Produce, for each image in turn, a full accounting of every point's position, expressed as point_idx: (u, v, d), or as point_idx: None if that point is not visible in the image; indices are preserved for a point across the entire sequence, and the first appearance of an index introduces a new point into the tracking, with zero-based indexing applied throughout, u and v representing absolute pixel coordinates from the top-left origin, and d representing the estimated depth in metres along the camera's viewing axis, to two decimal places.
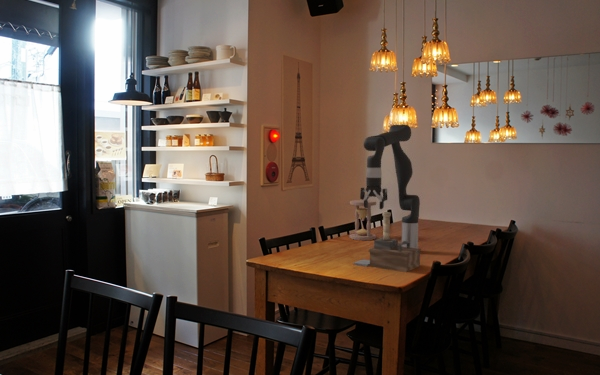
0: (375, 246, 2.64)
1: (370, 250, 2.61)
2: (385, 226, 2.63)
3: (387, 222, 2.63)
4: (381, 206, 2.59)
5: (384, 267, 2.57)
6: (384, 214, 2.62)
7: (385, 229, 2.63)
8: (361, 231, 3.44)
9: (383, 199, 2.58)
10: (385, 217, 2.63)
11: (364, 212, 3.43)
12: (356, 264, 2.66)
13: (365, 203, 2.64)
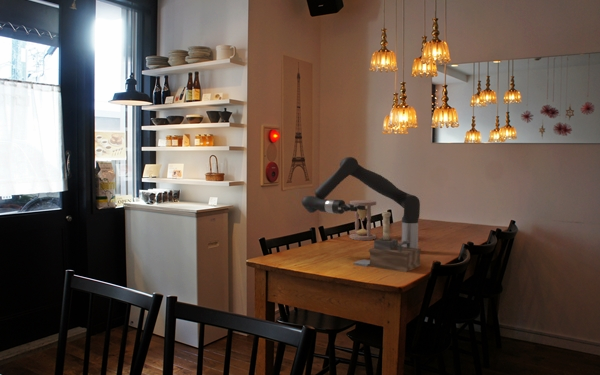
0: (375, 246, 2.64)
1: (370, 250, 2.61)
2: (385, 226, 2.63)
3: (387, 222, 2.62)
4: (354, 210, 2.69)
5: (384, 267, 2.57)
6: (384, 214, 2.62)
7: (385, 229, 2.63)
8: (361, 231, 3.44)
9: (346, 211, 2.71)
10: (385, 217, 2.62)
11: (364, 212, 3.43)
12: (356, 264, 2.66)
13: (360, 209, 2.77)
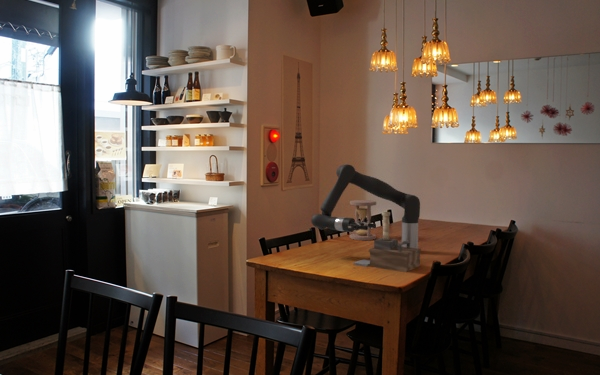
0: (375, 246, 2.64)
1: (370, 250, 2.61)
2: (384, 225, 2.64)
3: (387, 221, 2.64)
4: (364, 229, 2.67)
5: (384, 267, 2.57)
6: (383, 213, 2.64)
7: (385, 228, 2.64)
8: (361, 231, 3.44)
9: (357, 229, 2.68)
10: (384, 216, 2.64)
11: (364, 212, 3.43)
12: (356, 264, 2.66)
13: (371, 227, 2.74)
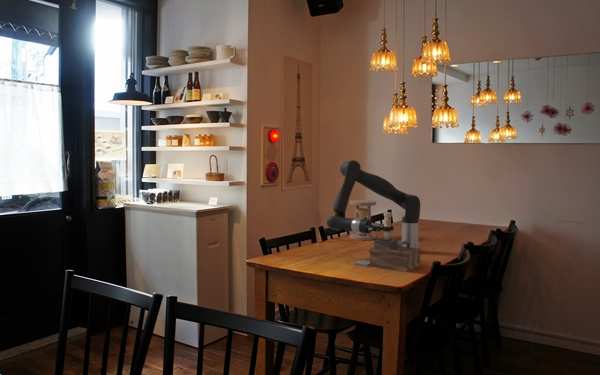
0: (375, 246, 2.64)
1: (370, 250, 2.61)
2: (386, 226, 2.63)
3: (388, 222, 2.62)
4: (386, 230, 2.62)
5: (384, 267, 2.57)
6: (385, 214, 2.62)
7: None
8: None
9: None
10: (386, 217, 2.62)
11: (364, 212, 3.43)
12: (356, 264, 2.66)
13: None
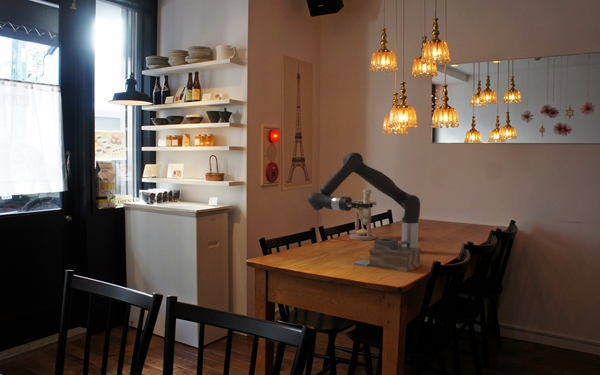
0: (375, 246, 2.64)
1: (370, 250, 2.61)
2: (365, 203, 2.65)
3: (367, 199, 2.64)
4: (365, 207, 2.64)
5: (384, 267, 2.57)
6: (364, 191, 2.64)
7: None
8: (361, 231, 3.44)
9: None
10: (365, 194, 2.64)
11: None
12: (356, 264, 2.66)
13: None
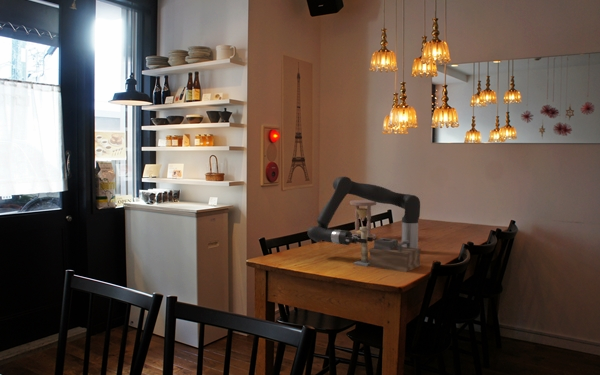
0: (375, 246, 2.64)
1: (370, 250, 2.61)
2: None
3: (364, 236, 2.66)
4: (363, 242, 2.64)
5: (384, 267, 2.57)
6: (361, 229, 2.66)
7: (363, 243, 2.67)
8: None
9: (355, 243, 2.65)
10: (362, 231, 2.67)
11: (364, 212, 3.43)
12: (356, 264, 2.66)
13: None
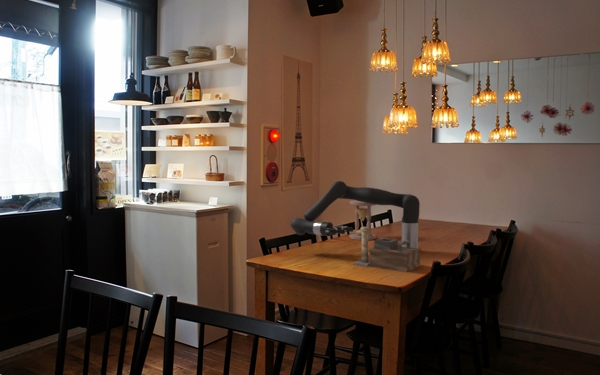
0: (375, 246, 2.64)
1: (370, 250, 2.61)
2: (363, 240, 2.66)
3: (365, 237, 2.66)
4: (341, 233, 2.72)
5: (384, 267, 2.57)
6: (362, 229, 2.66)
7: (363, 243, 2.67)
8: (361, 231, 3.44)
9: (334, 233, 2.73)
10: (363, 232, 2.66)
11: (364, 212, 3.43)
12: (356, 264, 2.66)
13: None
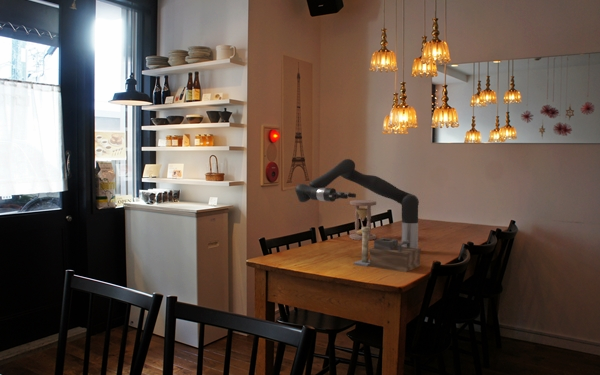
0: (375, 246, 2.64)
1: (370, 250, 2.61)
2: (364, 240, 2.66)
3: (366, 237, 2.66)
4: (344, 198, 2.77)
5: (384, 267, 2.57)
6: (363, 229, 2.65)
7: (364, 244, 2.66)
8: (361, 231, 3.44)
9: (337, 198, 2.78)
10: (364, 232, 2.65)
11: (364, 212, 3.43)
12: (356, 264, 2.66)
13: None
